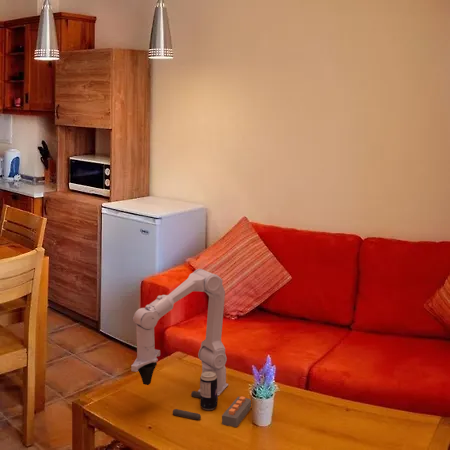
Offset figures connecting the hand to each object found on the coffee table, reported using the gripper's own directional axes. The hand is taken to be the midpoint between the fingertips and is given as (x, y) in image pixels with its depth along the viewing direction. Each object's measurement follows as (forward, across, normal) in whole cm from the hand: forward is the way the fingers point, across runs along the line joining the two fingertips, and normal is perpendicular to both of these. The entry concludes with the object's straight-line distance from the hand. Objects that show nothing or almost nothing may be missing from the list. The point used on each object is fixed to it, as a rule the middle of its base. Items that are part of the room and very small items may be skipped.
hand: (146, 383), depth 203 cm
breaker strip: (+9, +9, -29) cm, 31 cm away
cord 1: (+10, +2, -14) cm, 17 cm away
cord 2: (+10, +16, -13) cm, 23 cm away
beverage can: (+10, +10, -18) cm, 23 cm away
